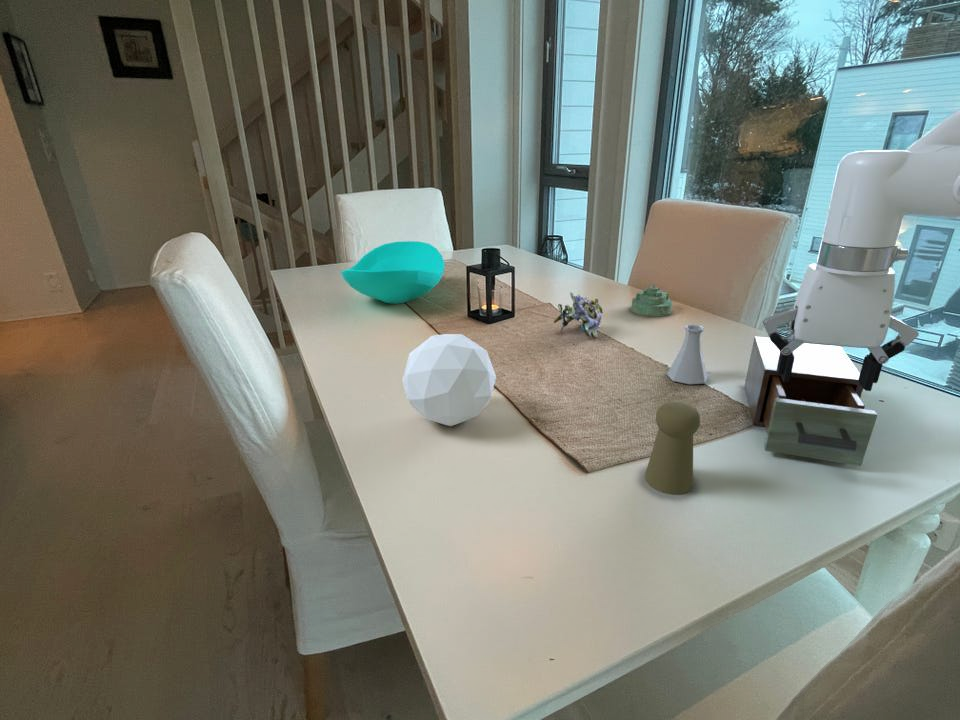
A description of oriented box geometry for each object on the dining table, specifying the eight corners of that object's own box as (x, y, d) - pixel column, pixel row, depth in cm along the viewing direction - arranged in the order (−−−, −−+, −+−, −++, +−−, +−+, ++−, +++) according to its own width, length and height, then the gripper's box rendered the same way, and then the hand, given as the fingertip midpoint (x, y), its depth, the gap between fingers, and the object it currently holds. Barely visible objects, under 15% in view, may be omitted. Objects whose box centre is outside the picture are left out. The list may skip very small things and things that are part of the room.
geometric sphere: (442, 433, 89) (439, 350, 93) (515, 424, 81) (510, 334, 85) (383, 428, 78) (383, 333, 81) (461, 416, 70) (458, 312, 73)
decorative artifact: (630, 314, 130) (671, 317, 127) (633, 288, 127) (675, 290, 124) (632, 303, 139) (671, 306, 136) (634, 278, 136) (674, 280, 133)
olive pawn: (696, 474, 68) (709, 401, 64) (688, 500, 64) (701, 423, 59) (650, 461, 71) (660, 391, 67) (639, 485, 67) (648, 411, 62)
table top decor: (432, 323, 128) (429, 270, 122) (325, 322, 130) (318, 271, 125) (454, 282, 164) (452, 240, 159) (370, 282, 167) (365, 241, 161)
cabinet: (847, 439, 75) (865, 380, 72) (752, 425, 80) (764, 369, 76) (825, 396, 88) (839, 344, 84) (744, 386, 92) (754, 336, 88)
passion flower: (591, 358, 119) (598, 329, 108) (546, 345, 121) (549, 316, 111) (602, 320, 124) (611, 289, 113) (559, 309, 126) (563, 277, 116)
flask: (668, 384, 93) (675, 332, 90) (664, 368, 100) (671, 319, 96) (710, 387, 92) (719, 335, 88) (704, 370, 98) (712, 321, 94)
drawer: (871, 486, 64) (889, 432, 61) (769, 468, 68) (781, 417, 65) (836, 417, 79) (849, 372, 76) (754, 406, 83) (764, 362, 80)
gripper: (928, 253, 64) (890, 378, 70) (771, 249, 70) (750, 365, 76) (954, 267, 57) (910, 403, 64) (779, 261, 63) (755, 386, 70)
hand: (823, 382), depth 70 cm, fingers open, 9 cm apart
